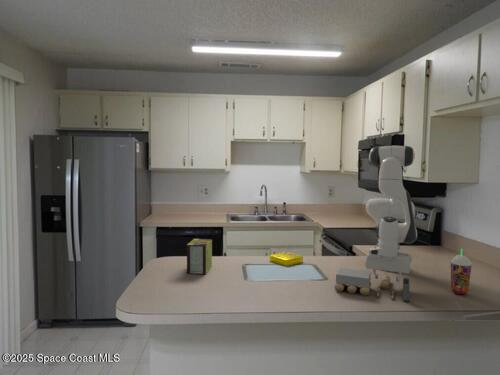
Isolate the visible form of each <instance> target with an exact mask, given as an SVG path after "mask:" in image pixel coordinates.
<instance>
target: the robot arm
mask: <svg viewBox="0 0 500 375" xmlns="http://www.w3.org/2000/svg"><path fill="white" fill-rule="evenodd" d="M415 156H416V154H415V151H414V148H413V147H412V146H409V145H405V146H403V145H384V146H383V145H382V146H379V145H378V146H374V147H372V148H371V149H370V152H369V153H368V160H369V162H370V164H371V165H372V166H373V167H375V168H376V169H379V172H378V190H379V192H380V193H381V194H382V195H383V196H384V197H375V198H371V199H368V200H367V202H366V203H365V204H366V205H365V211H366V213H367V215H369V216H370V217H371V218H372V219H373V220H374V222H375V223H376V238H377V241H376V242H377V243H376V246H373V247H369V248H368V251H367V252H368V253H367V255H366V258H365V263H364V266H365V268H366V269H367V270H372V273H373V275H374V279H375V280H376V279H377V280H379V274H377V273H376V271H385V272H391V273H392V272H393V273H398V276H396V277H395V282H399V283H400V278H402V276H403V274H410V273H411V263H412V260H413V259H412V258H413V257H412V255H411V254H409V253H408V252H401V251H400V250H401V245H400V243H401V244H405V245H406V244H407V245H411V244H413V243H414V242H415V241H417V238H418V230H417V227H416V225H415V218H414V217H415V216H414V214H415V212H416V211H415V210H416V209H415V208H416V207H415V204H414V202H412V200H411V195H410V193H409V191H408V190H407V189H406V188H405V187H404V183H403V168H402V167H404V168H406V167H409V166H411V165H413V163H414V160H415V159H416V158H415ZM385 197H387V198H385ZM398 219H401V220H402V219H404V221H405V222H399V221H398Z"/></svg>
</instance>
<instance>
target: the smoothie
mask: <svg viewBox="0 0 500 375" xmlns="http://www.w3.org/2000/svg"><path fill="white" fill-rule="evenodd" d="M463 250H464V249H463V248H461V249H460V254H457V255H454V257H452V259H451V260H450V261H449V262H450V285H451V286H450V289H452V292H453V293H455V294H459V295H466V294H467V293H468V292H469V289H470V282H471V281H470V280H471V279H470V278H471V273H472V265H473V264H472V262H471V260H470V259H469V257H467V255H463Z"/></svg>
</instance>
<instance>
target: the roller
mask: <svg viewBox="0 0 500 375" xmlns="http://www.w3.org/2000/svg"><path fill="white" fill-rule="evenodd" d="M380 280H381V282H380V289H382V290H386V291H387V290H389V288H390V284H391V283H390V282H391V277H390V276H389V275H388V274H384V275H382V277H381V279H380Z"/></svg>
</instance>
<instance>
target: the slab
mask: <svg viewBox="0 0 500 375" xmlns="http://www.w3.org/2000/svg"><path fill="white" fill-rule="evenodd" d="M371 275H372V270H371V271H370V270H365V269H356V268H347V267H340V268H339V269H338V271H337V272H336V274H335V283H336V284H337V283H340V284H346V285H347V286H349V285H354V286H358V287H360V288H361V287H369V283H370V282H371V279H372V278H371V277H372V276H371Z"/></svg>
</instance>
